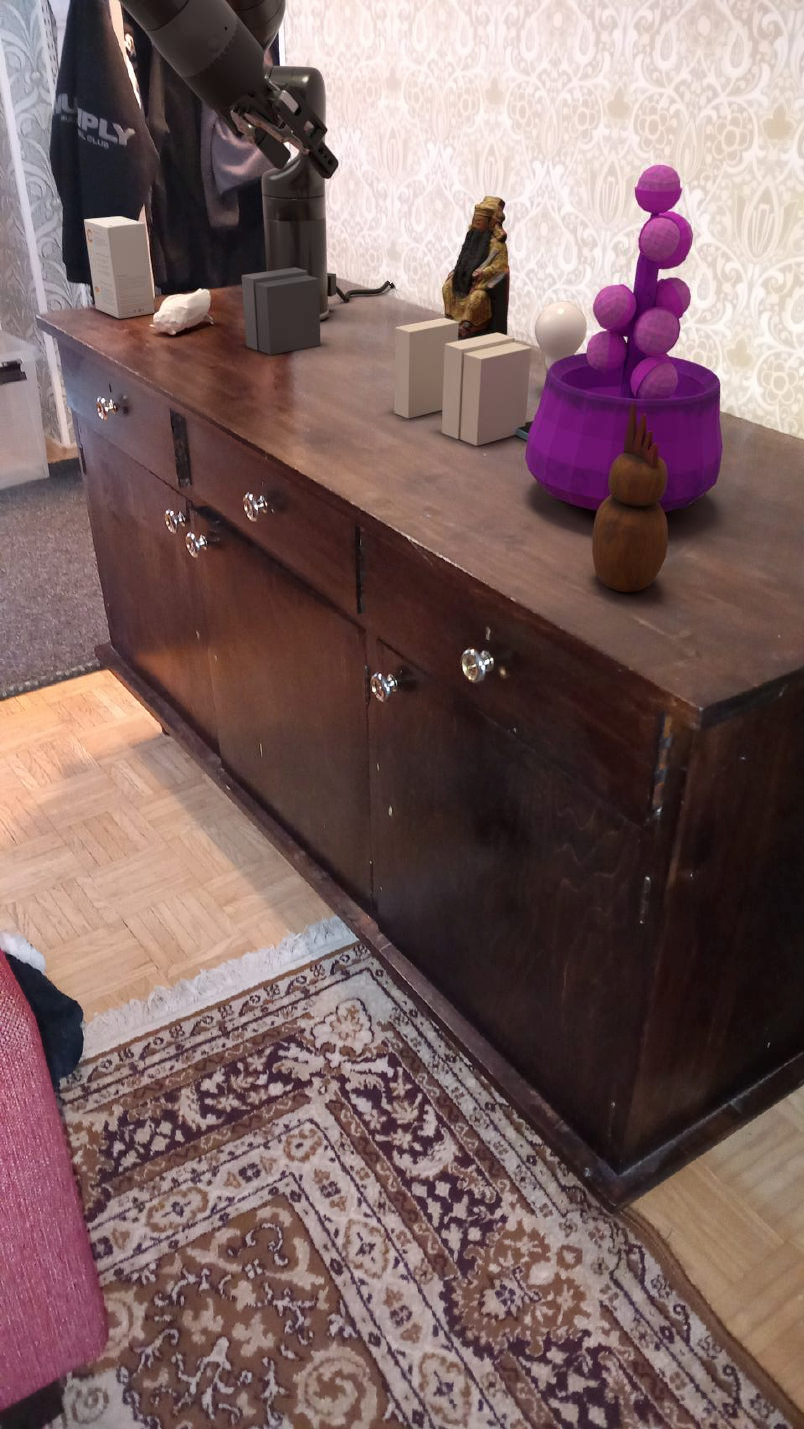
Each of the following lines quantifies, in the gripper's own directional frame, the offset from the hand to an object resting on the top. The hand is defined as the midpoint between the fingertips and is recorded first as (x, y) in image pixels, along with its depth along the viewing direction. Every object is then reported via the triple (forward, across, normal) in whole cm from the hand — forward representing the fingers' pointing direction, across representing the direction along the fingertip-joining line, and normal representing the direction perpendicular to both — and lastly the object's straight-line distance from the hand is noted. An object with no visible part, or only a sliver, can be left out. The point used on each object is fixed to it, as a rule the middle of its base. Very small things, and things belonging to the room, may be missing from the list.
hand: (308, 166), depth 112 cm
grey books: (+29, +27, +9) cm, 41 cm away
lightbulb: (+40, -12, -2) cm, 41 cm away
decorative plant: (+24, -40, +13) cm, 48 cm away
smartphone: (+34, -23, +4) cm, 41 cm away
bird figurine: (+24, +43, +14) cm, 51 cm away
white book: (+27, -7, +11) cm, 30 cm away
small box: (+23, +58, +15) cm, 64 cm away
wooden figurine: (+15, -52, +22) cm, 58 cm away
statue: (+41, +6, -3) cm, 42 cm away
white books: (+27, -17, +11) cm, 33 cm away
